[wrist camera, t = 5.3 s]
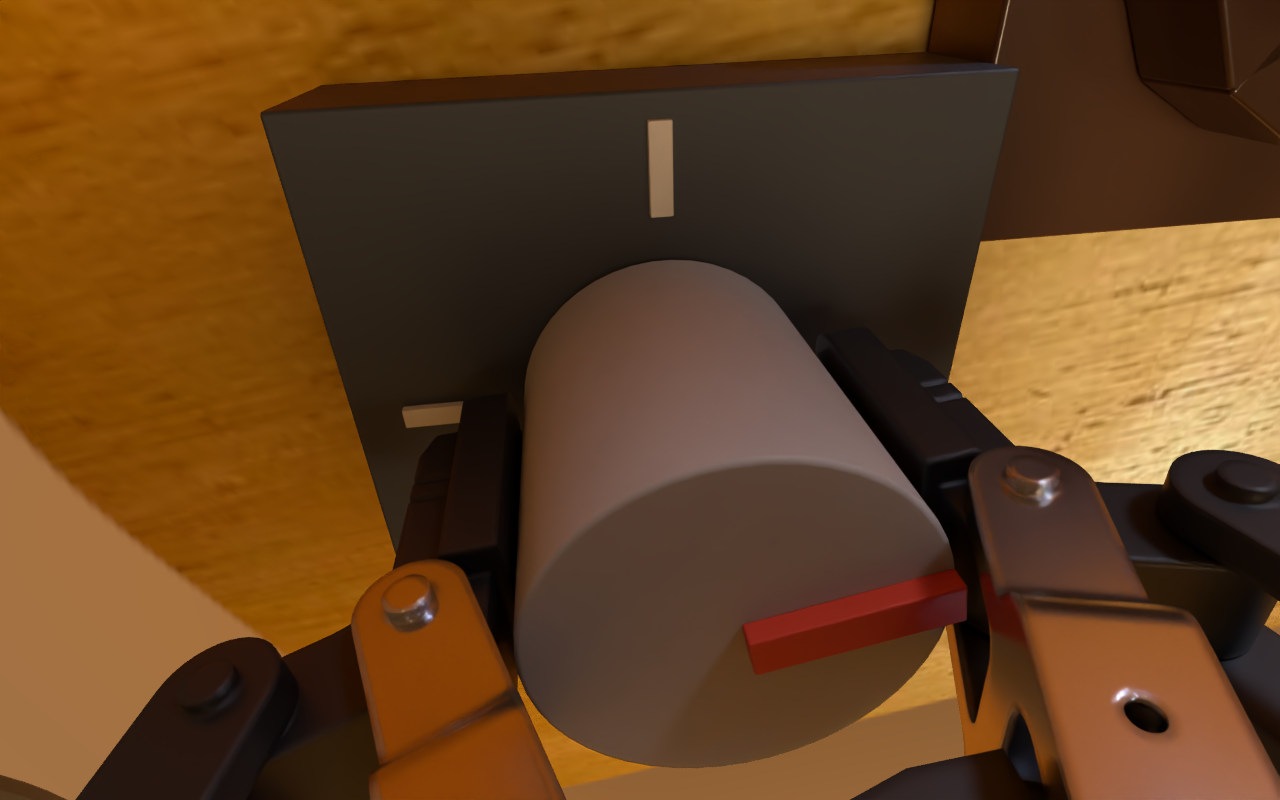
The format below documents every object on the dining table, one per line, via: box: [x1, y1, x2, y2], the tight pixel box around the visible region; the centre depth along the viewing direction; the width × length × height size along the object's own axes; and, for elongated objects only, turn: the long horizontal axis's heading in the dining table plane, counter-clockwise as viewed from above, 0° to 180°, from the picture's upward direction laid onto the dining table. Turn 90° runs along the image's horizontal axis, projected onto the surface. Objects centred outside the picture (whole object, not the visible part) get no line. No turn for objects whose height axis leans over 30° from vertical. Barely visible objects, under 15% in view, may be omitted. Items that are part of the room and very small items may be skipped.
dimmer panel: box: [261, 52, 1019, 554], centre depth 13 cm, size 11×10×3 cm
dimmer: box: [513, 260, 968, 768], centre depth 10 cm, size 5×5×6 cm
